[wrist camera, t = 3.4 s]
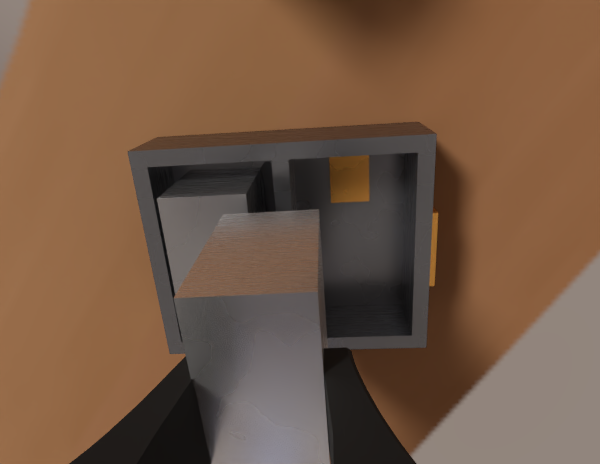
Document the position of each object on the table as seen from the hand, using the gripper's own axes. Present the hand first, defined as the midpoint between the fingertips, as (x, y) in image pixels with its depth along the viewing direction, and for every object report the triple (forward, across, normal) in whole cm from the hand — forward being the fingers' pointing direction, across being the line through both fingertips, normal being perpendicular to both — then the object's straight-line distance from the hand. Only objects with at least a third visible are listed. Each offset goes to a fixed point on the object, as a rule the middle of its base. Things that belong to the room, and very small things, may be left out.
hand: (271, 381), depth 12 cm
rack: (+9, 0, -1) cm, 9 cm away
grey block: (+4, 0, 0) cm, 4 cm away
